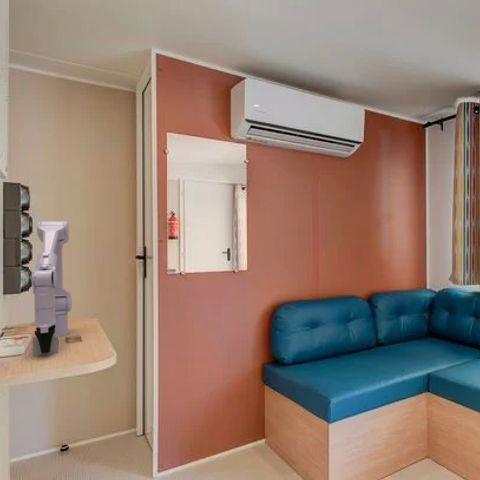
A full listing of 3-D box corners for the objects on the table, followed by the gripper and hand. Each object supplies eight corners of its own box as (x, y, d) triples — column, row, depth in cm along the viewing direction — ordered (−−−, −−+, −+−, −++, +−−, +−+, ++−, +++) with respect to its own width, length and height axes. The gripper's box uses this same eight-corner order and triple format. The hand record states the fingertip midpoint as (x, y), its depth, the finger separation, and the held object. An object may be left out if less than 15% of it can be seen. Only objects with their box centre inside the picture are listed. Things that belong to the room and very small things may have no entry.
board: (33, 356, 114) (33, 337, 114) (58, 353, 117) (58, 334, 117) (32, 359, 112) (32, 339, 112) (58, 355, 115) (57, 336, 115)
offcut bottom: (66, 344, 130) (66, 340, 130) (81, 342, 132) (81, 338, 132) (66, 348, 125) (66, 343, 125) (82, 346, 127) (82, 341, 127)
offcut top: (65, 340, 128) (65, 336, 128) (76, 338, 131) (76, 334, 131) (69, 343, 126) (69, 338, 126) (81, 340, 128) (81, 336, 128)
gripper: (32, 305, 120) (32, 346, 120) (28, 313, 107) (29, 359, 107) (56, 303, 123) (56, 343, 123) (55, 310, 110) (56, 355, 110)
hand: (45, 350), depth 115 cm, fingers open, 4 cm apart
